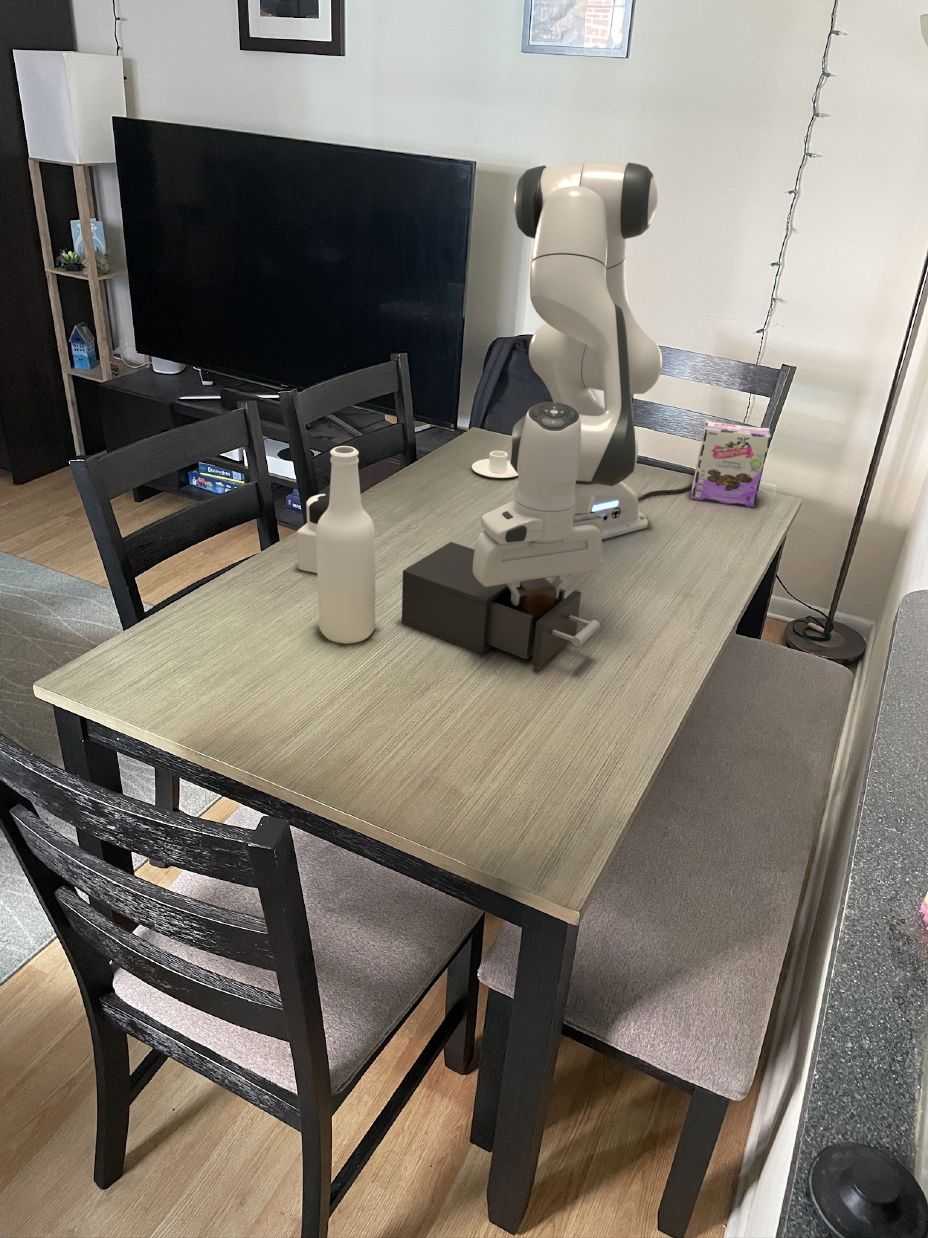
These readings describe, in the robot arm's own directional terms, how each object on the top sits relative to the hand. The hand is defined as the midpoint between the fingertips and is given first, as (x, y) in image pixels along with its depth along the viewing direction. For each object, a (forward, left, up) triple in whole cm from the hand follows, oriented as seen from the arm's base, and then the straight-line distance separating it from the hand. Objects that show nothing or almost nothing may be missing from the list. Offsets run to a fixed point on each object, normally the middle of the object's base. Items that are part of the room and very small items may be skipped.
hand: (534, 600), depth 137 cm
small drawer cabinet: (+7, -10, -8) cm, 15 cm away
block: (0, 0, -2) cm, 2 cm away
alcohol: (+26, -13, -8) cm, 30 cm away
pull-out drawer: (0, 0, -7) cm, 7 cm away
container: (+23, -36, -8) cm, 44 cm away
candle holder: (-27, -71, -8) cm, 77 cm away
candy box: (-69, -42, -8) cm, 81 cm away
